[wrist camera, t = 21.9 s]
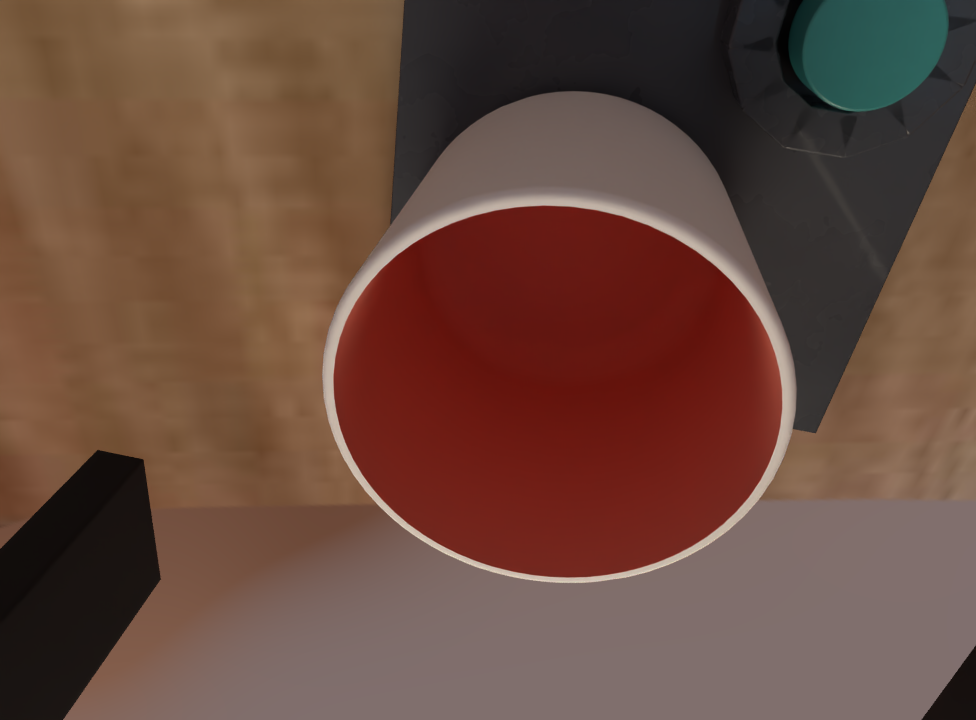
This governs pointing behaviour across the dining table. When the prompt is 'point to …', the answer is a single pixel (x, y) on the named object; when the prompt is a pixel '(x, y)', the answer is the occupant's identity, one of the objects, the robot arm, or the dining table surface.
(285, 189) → the dining table surface
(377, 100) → the dining table surface
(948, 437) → the dining table surface
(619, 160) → the cup
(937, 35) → the button
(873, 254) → the scale
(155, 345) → the dining table surface
